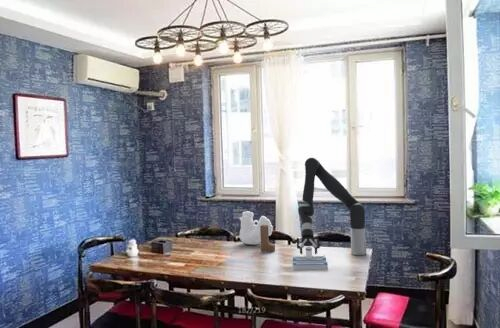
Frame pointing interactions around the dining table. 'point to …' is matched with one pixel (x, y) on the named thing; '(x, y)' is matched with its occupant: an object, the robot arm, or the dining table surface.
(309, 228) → the robot arm
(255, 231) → the decorative rooster
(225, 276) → the dining table surface
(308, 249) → the cord plug
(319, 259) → the duct
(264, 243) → the wooden block
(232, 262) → the dining table surface
